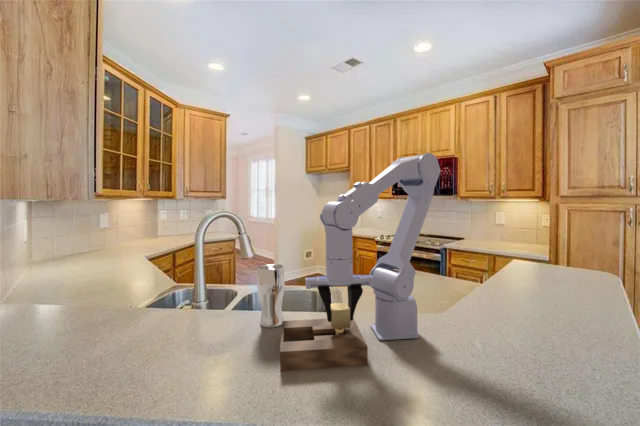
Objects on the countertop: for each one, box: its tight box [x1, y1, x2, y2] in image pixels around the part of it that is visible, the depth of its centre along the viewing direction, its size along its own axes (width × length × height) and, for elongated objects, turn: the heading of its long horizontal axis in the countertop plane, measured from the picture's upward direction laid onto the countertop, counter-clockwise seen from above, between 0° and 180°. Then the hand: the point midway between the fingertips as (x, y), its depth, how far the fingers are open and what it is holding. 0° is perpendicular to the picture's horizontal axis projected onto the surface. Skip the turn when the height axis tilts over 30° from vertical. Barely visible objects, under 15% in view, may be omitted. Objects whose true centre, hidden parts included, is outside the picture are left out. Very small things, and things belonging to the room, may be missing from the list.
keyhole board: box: [279, 317, 369, 372], centre depth 64 cm, size 17×14×4 cm
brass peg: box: [330, 302, 350, 335], centre depth 65 cm, size 4×4×9 cm
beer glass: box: [256, 263, 285, 329], centre depth 78 cm, size 7×7×15 cm
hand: (339, 319), depth 65 cm, fingers closed on brass peg, 4 cm apart
